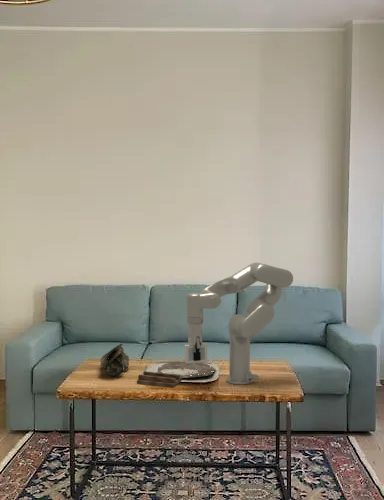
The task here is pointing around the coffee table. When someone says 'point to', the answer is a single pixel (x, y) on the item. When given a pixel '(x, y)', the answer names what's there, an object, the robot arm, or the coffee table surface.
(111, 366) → the hollow geode rock
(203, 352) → the picture frame
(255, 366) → the coffee table surface
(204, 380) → the coffee table surface
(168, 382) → the picture ledge
